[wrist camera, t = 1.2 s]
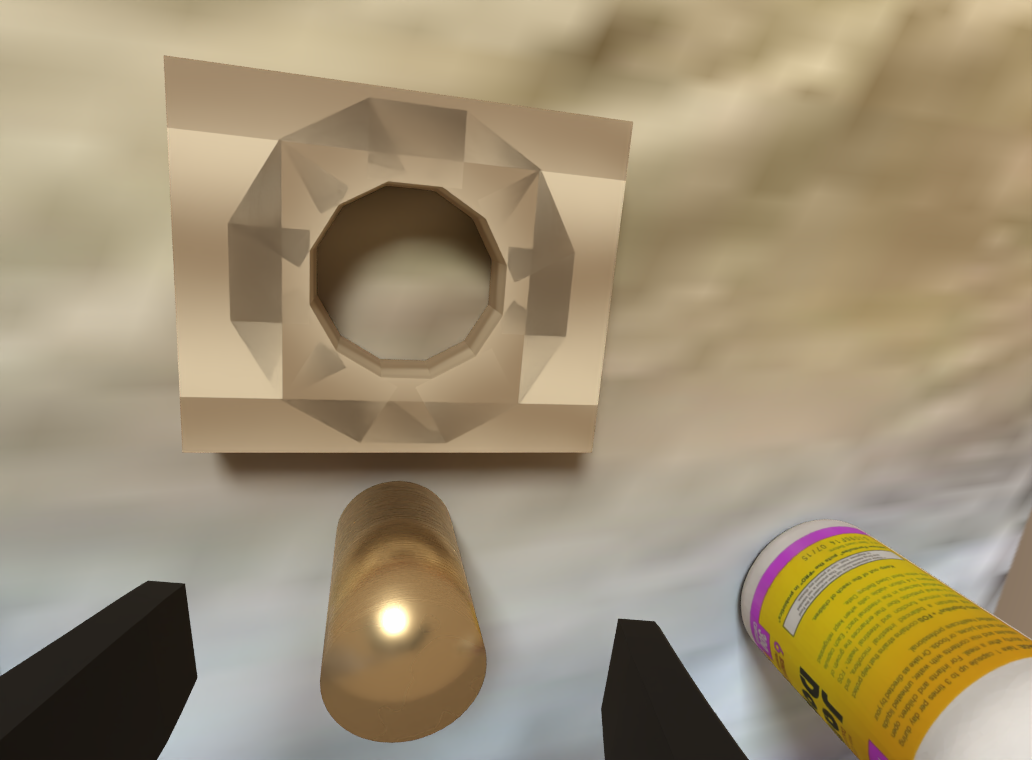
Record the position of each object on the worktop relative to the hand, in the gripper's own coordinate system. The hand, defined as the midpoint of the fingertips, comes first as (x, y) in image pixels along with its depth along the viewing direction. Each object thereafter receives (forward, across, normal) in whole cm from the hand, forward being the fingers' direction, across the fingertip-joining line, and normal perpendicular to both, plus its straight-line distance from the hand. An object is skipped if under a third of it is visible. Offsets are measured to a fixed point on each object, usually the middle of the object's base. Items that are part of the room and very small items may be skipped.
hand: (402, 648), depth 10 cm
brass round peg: (+10, +2, +5) cm, 12 cm away
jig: (+11, +2, -4) cm, 12 cm away
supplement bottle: (+14, -15, +8) cm, 22 cm away
